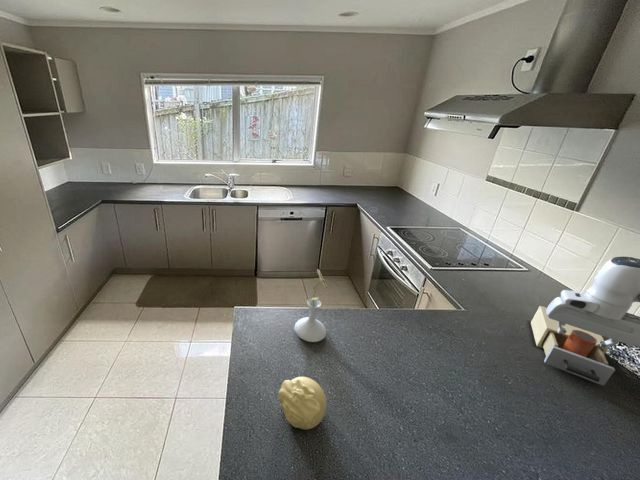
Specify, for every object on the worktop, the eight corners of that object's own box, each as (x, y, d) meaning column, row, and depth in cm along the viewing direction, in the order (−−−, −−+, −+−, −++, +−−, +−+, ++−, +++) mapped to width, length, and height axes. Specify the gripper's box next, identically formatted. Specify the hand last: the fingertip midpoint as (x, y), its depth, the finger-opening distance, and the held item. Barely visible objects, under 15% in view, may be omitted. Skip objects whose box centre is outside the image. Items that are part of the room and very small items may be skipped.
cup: (579, 357, 94) (594, 334, 90) (583, 368, 90) (599, 345, 86) (556, 349, 97) (570, 327, 94) (559, 359, 93) (574, 336, 89)
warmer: (595, 368, 93) (608, 348, 90) (536, 346, 101) (546, 327, 98) (582, 340, 105) (593, 322, 101) (530, 322, 113) (539, 305, 109)
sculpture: (270, 413, 75) (273, 385, 71) (297, 385, 83) (301, 359, 79) (305, 448, 67) (310, 419, 63) (331, 414, 75) (337, 386, 71)
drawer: (608, 396, 83) (620, 380, 80) (546, 371, 90) (556, 356, 87) (589, 355, 97) (599, 341, 94) (537, 337, 104) (545, 323, 101)
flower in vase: (323, 349, 96) (334, 288, 86) (291, 339, 99) (298, 280, 90) (327, 323, 107) (337, 268, 98) (298, 316, 111) (304, 261, 101)
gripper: (651, 315, 82) (625, 350, 87) (555, 288, 93) (537, 320, 99) (661, 327, 77) (633, 363, 83) (559, 297, 88) (540, 330, 94)
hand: (580, 340), depth 91 cm, fingers open, 8 cm apart
